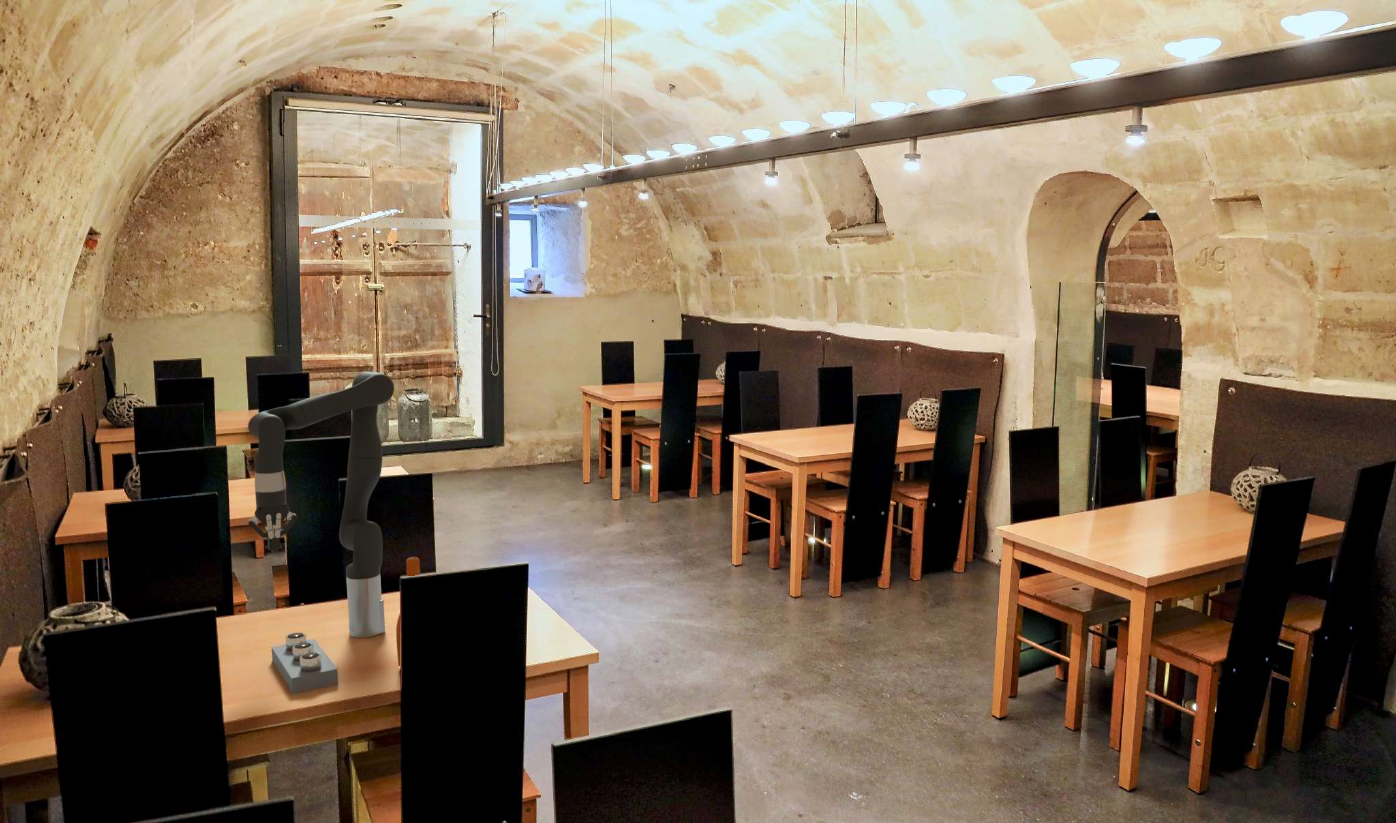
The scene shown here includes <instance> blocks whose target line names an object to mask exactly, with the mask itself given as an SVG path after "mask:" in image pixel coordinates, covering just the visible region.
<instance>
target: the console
mask: <svg viewBox="0 0 1396 823" xmlns="http://www.w3.org/2000/svg"><path fill="white" fill-rule="evenodd" d="M306 642H309V643H312V644H313V652H315V653H320V654H321V665H322V667H321V668H320V669H318V670H315V671H302V670H301V669H300V661H298V660H294V659H293V650H288V649H286V643H285V644H280V645H277V646H271V657H272V660H271V661H272V663H273V665H274V666H275V667H276V670H277V671H278V673H279V674H280V676H281V677H283V678H282V680H283V681H284V682H285V684H286V685H287V687H288V689H289V691H290V692H291V693H292V695H294V694H298V693H303V692H307V691H311V690H317V689H321V688H326V687H330V686H336V685H338V684H339V676H338V675H339V673H338V671H339V670H338V667H337V666H336V665H335V663H334V662H333V661H332V660H331V659H330V657H329V656H328V654H326V652H325V651H324V649H323V648H322V647H321V645H320V644H319V643H318V642H317V640H316V639H315V638H312V639H306Z"/></svg>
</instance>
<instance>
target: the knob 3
mask: <svg viewBox="0 0 1396 823" xmlns="http://www.w3.org/2000/svg"><path fill="white" fill-rule="evenodd" d="M321 667H322V665H321V654H320V653H315V652H312V653H306V654H303V655H301V656H300V669H301V670H302V671H315V670H318V669H320V668H321Z"/></svg>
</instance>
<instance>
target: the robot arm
mask: <svg viewBox="0 0 1396 823" xmlns="http://www.w3.org/2000/svg"><path fill="white" fill-rule="evenodd" d="M394 385H395V384H394V382H393V380H392V379H391V378H390V377H389V376H388V375H386V374H384V373H381V372H376V371H362V372H360V373H359V374H357V375H356V376H355V377H354V379H353V381H352V384H351V386H350V387H348V388H345V389H342V390H337V391H334V392H329V393H324V394H323V393H322V394H319V395H313V396H311V397H308V398H305V399H302V400H299V401H296V402H293V403H291V404H288V405H285V406H279V407H275V408H272V409H267V410H263V411H261V412H258V413H255V415H253V416H251V418H250V419H249V421H248V424H247V429H248V432H249V433H250V435H251V436H252V437H255V438H256V439H258V449H257V451H255V453H254V457H253V459H254V461H253V462H254V492H255V507H256V509H255V511H254V515H253V516H252V517H251V518H247V520H246V523H247V524H248V525H249V527H251V528H252V529H253V530H254V531H255V532H256V533H257V534H258V535H259V536H260V537H261V538H266V539H267V548H268V549H269V551H271V553H277V552H279V550H280V549H281V537H282V536H283V535H287V533H288V532H289V531H290V530H291V528H292V527H293V526H294V524H295V523H296V520H297V519H298V518H299V516H298V515H297V514H296V513H294V512H291V511H290V508H289V507H288V504H287V503H288V502H287V489H286V487H287V483H286V477H285V471H284V460H283V459H284V458H283V452H284V447H285V440H286V431H288V430H300V429H304V428H305V427H308V426H312V425H314V424H317V423H320V422H321V421H325V420H327V419H330V418H332V417H335V416H340V415H342V414H344V413H347V412H351V425H350V426H351V428H350V439H349V448H348V449H349V450H348V460H347V473H346V474H347V476H346V486H345V496H344V504H343V509H342V513H341V514H342V515H341V520H340V523H339V524H340V525H339V532H338V536H339V537H338V538H339V542H340V544H341V546H342V547H343V548H345V549H346V550H349V551H353V552H352V553H353V558H352V561H353V562H352V563H350V564H348V565H347V566H346V568H345V575H346V578H345V579H346V591H347V592H346V593H347V594H346V595H347V609H348V610H347V611H348V614H347V615H348V632H349V636H350V637H353V638H356V639H357V638H358V639H361V638H363V639H364V638H371V637H372V638H373V637H376V636H378V635H380V634H383V633H386V625H385V624H386V622H385V621H386V620H385V600H384V599H383V598H382V585H381V584H382V583H381V582H382V581H381V568H382V567H381V566H382V564H383V555H384V554H383V553H384V552H383V551H384V549H383V546H384V544H383V543H384V542H383V541H384V540H383V533H382V530H381V527H380V526H379V524H378V523H376V522H374V521H371V520H367V518H368V506H369V501H370V498H371V495H372V493H373V492H374V490H375V487H376V486H377V484H378V483H379V481H380V477H381V474H382V467H383V466H382V465H383V452H384V451H383V445H382V440H381V435H380V432H379V428H378V421H377V420H378V408H379V406H380V405H384V404H385V403H387V402H388V401H390V400H391V398H392V397H393V396H394V392H395V386H394ZM285 519H286V522H285V523H284V524H283V526H282V523H283V522H284V521H285ZM258 520H259V521H258ZM259 522H260V523H262V524H263V526H265V531H264V530H263V529H262V528H260V526H258V525H259Z"/></svg>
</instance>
